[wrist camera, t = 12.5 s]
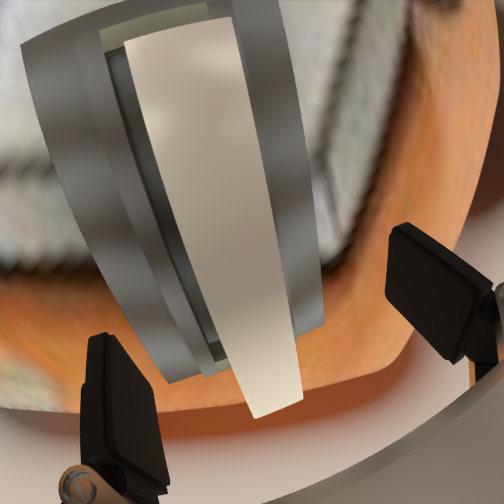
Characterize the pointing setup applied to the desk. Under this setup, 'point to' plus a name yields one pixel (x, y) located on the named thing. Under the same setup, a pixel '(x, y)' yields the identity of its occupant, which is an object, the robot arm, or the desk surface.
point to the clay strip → (220, 198)
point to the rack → (148, 175)
